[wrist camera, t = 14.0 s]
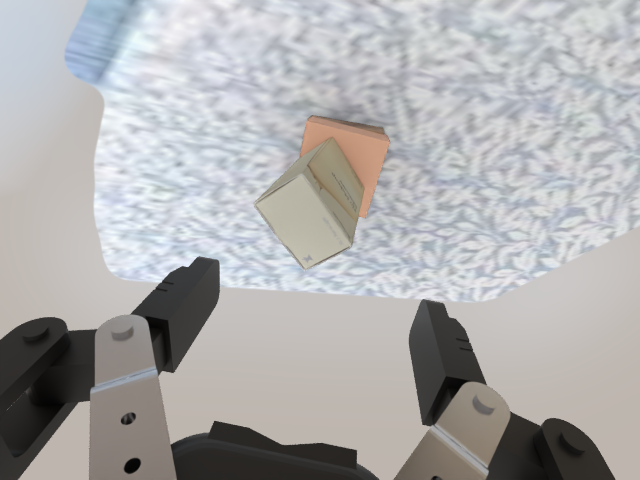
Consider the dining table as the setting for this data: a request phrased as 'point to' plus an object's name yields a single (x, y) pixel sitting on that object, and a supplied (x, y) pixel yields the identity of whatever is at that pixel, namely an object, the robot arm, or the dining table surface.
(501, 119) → the dining table surface
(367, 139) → the terracotta slab
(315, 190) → the skincare box
